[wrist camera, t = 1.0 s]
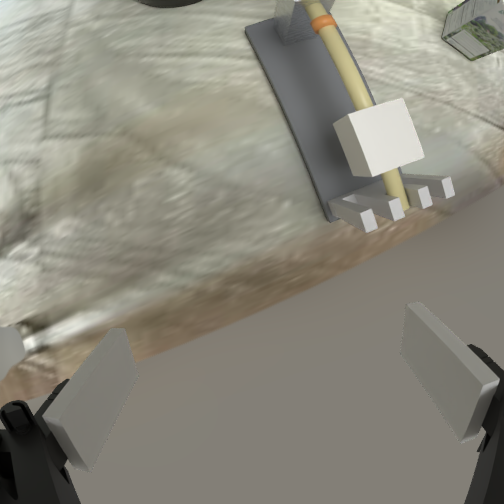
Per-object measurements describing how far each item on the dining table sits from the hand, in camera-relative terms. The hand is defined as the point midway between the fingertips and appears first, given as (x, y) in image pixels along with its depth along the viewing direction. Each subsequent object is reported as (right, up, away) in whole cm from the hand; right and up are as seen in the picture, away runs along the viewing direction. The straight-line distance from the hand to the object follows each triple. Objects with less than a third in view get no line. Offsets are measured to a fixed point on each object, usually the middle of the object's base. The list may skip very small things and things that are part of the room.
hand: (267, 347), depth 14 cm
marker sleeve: (+10, +14, +13) cm, 21 cm away
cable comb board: (+8, +20, +19) cm, 29 cm away
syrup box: (+28, +34, +16) cm, 46 cm away
